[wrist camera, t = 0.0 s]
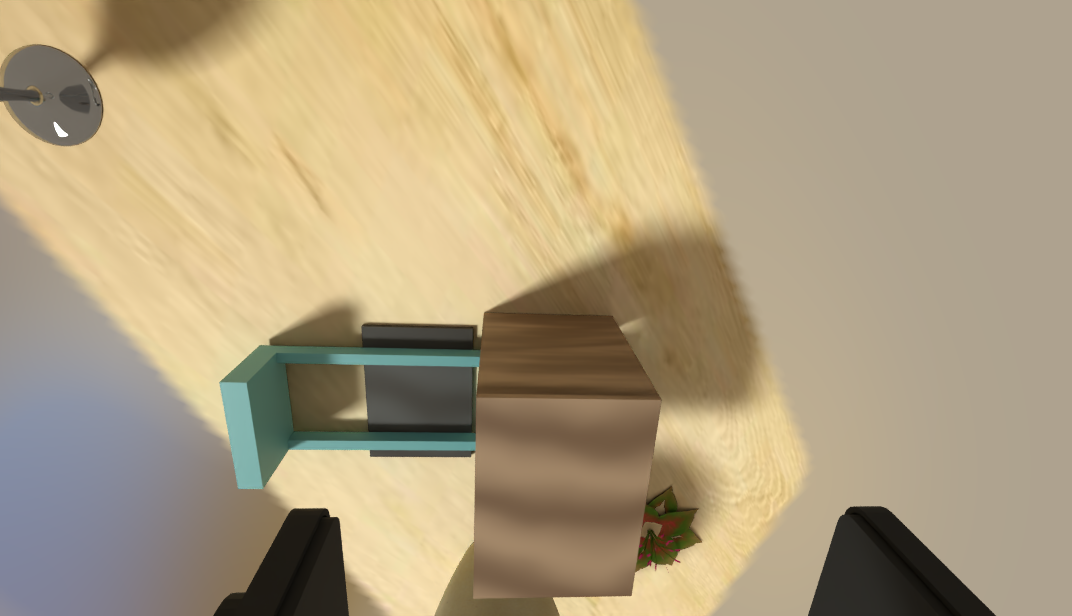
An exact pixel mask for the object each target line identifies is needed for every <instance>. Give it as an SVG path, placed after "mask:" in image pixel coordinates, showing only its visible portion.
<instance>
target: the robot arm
mask: <svg viewBox="0 0 1072 616" xmlns="http://www.w3.org/2000/svg"><path fill="white" fill-rule="evenodd" d="M214 616H349V612H348V603H347V592H346V582H345V571H344V561H343V551H342V540H341V530H340V521H339V518H338V517H330V515H329V511H328V509H325V508H312V509H293V510H291V511H290V513H289V514H288V516H287V518H286V520H285V521H284V523H283V525H282V527H281V529H280V530H279V532H278V534H277V536H276V538H275V540H274V541H273V543H272V545H271V547H270V549H269V551H268V552H267V554H266V556H265V558H264V560H263V562H262V564H261V565H260V567H259V569H258V571H257V573H256V574H255V576H254V578H253V580H252V582H251V584H250V585H249V587H248V589H247V591H246V593H232V594H230V595H229V596H227V597H226V598H225V599H224V600H223V602H222V603H221V604H220V606H219V607H218V609H217V610H216V612H215V614H214ZM808 616H996V615H995V614H994V613H992V611H991V610H990V609H989V608H988V607H987V606H986V605H985V604H984V603H982V601H980V600H979V599H978V597H977V596H976V595H974V594H973V593H972V592H971V591H970V590H969V589H968V588H967V587H966V586H965V585H964V584H963V583H962V582H961V581H960V580H959V579H958V578H957V577H956V576H955V575H954V574H953V573H952V572H951V571H950V570H949V569H948V568H947V567H946V566H945V565H944V564H943V563H942V562H941V561H940V560H939V559H938V558H937V557H936V556H935V555H934V554H933V553H932V552H931V551H930V550H929V549H928V548H927V547H926V546H925V545H924V544H923V543H922V542H921V541H920V540H919V539H918V538H917V537H916V536H915V535H914V534H913V533H912V532H911V531H910V530H909V529H908V528H907V527H906V526H905V525H904V524H903V523H902V522H901V521H900V520H899V519H898V518H897V517H896V516H895V515H894V514H892V512H890V511H889V510H888V509H886V508H884V507H881V506H877V507H876V506H875V507H874V506H871V507H869V506H867V507H866V506H865V507H850V508H848V509H847V510H846V512H845V514H844V515H842V516H840V518H839V520H838V522H837V525H836V529H835V532H834V535H833V538H832V541H831V544H830V548H829V551H828V554H827V557H826V561H825V563H824V567H823V570H822V573H821V576H820V579H819V582H818V586H817V589H816V592H815V595H814V598H813V602H812V605H811V608H810V611H809V614H808Z"/></svg>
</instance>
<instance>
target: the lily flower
mask: <svg viewBox="0 0 1072 616" xmlns="http://www.w3.org/2000/svg"><path fill="white" fill-rule="evenodd" d="M671 491H672V486H671V487H670V488H669V489H668V490H667V491H665V492H664V493H663V494H661V495H660V496H658V497H657V498H656V499H654V500H653V501H652V502H650V503H649V504H648V505H645V511H644V517H643V524H642V526H643V525H644V523H645V522H654V523H658V524H661V525H663V526H662V528H661V531H660V533H659V535H658V537H657V536H656V535H655V534H654V532H653V530H651V531H649V530H648V534H647V536H646V538H644V537H640V543H639V550H638V556H637V563H636V569H635V572H637V571H639V570H640V569H643V568H645V567H646V566H648V565H649V564H650V566H651V562H652V561H653V562H654V563H656V564H655V565H657V564H661V565H665V566H666V564H669V565H672V563H673V561H674V560H675V561H677V562H679V563H680V561H678V560H676V559H674V558H676V556H677V551H680V550H681V549H685V548H688V547H690V546H693V545H694V544H695V543H700V542H702V541H700V540H699V538H698V537H696V535H695V534H694V533H693V532H692V531H691V530H690V529H689V527H690V526H691V523H692V521H693V519H694V514H695V513H696V512H697V510H698V509H695V510H689V511H682V512H676V511H677V502H676V499H675V496H674V494H673V492H671ZM664 500H665V503H664V508H665V514H664V515H661V516H660V517H659V515H658V512H657V511H656V510H655V508H656V507H658V506H660V505H661V504H662V502H663V501H664ZM651 532H652V533H651ZM649 534H650V539H649ZM652 534H653V535H652ZM679 535H680V536H682V537H677V538H673V539H672V538H671V537H674V536H679ZM653 536H654V537H655V538H654V537H653ZM643 549H644V551H643ZM642 551H643V552H642ZM641 552H642V553H641ZM666 568H667V567H666ZM655 569H656V566H655ZM667 570H668V569H667ZM655 571H656V570H655ZM668 572H669V571H668Z"/></svg>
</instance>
